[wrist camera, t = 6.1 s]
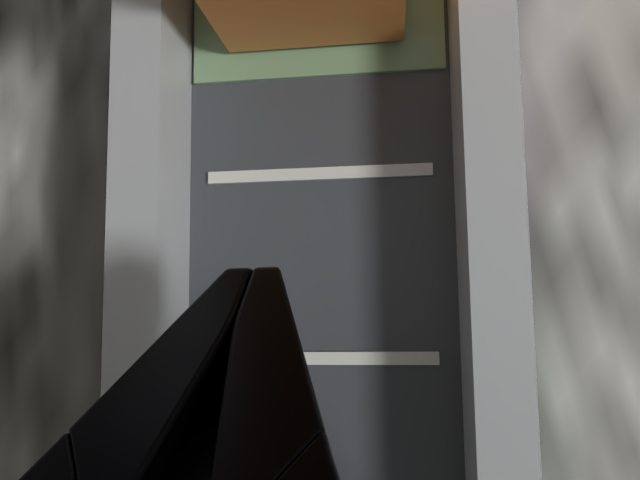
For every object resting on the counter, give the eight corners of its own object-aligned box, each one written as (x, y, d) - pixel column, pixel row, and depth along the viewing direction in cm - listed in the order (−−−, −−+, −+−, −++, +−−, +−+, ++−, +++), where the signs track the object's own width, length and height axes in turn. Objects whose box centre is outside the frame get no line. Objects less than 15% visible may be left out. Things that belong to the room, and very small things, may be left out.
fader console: (509, 610, 14) (554, 730, 10) (169, 591, 15) (91, 693, 11) (478, -89, 16) (505, -214, 12) (178, -60, 17) (116, -167, 13)
